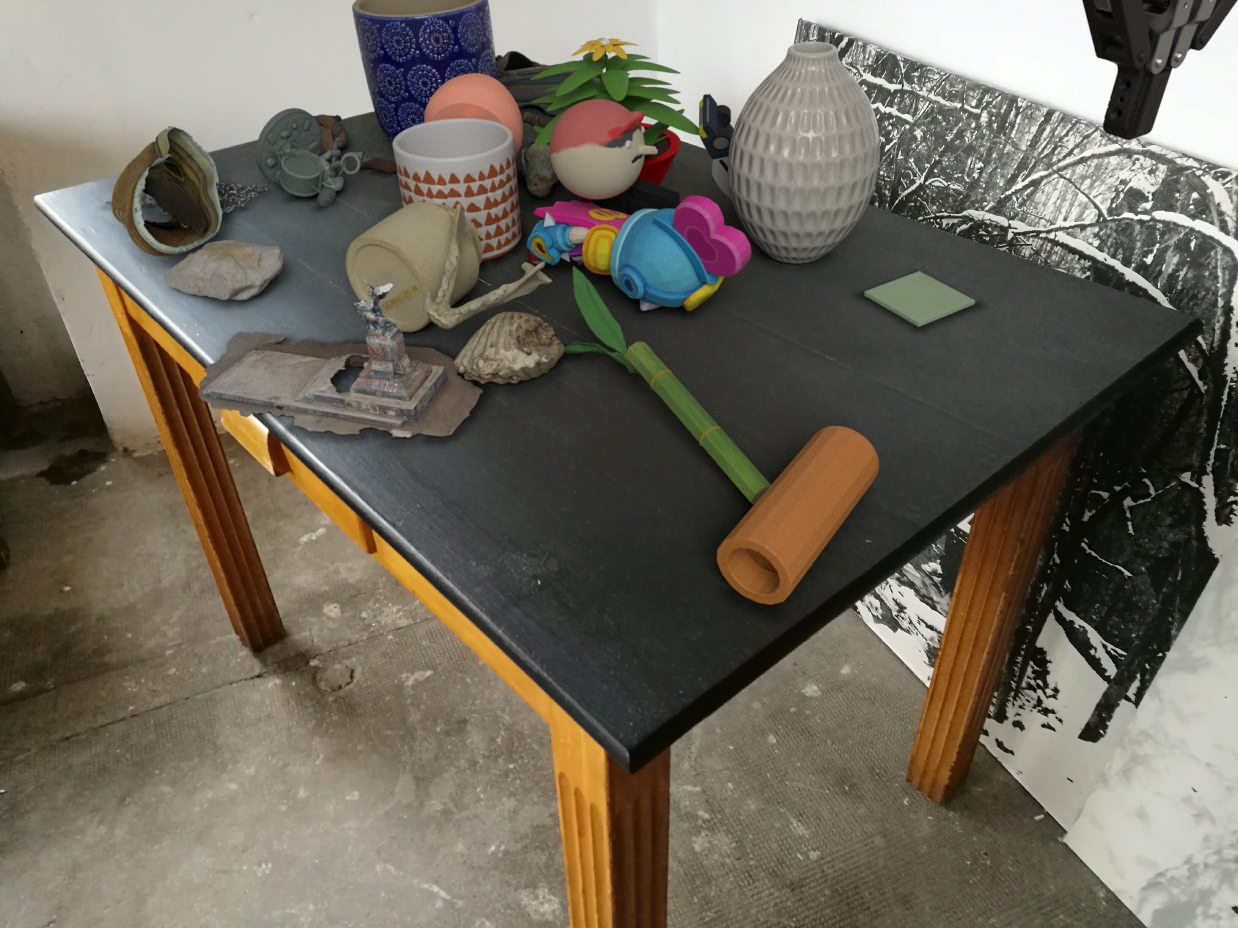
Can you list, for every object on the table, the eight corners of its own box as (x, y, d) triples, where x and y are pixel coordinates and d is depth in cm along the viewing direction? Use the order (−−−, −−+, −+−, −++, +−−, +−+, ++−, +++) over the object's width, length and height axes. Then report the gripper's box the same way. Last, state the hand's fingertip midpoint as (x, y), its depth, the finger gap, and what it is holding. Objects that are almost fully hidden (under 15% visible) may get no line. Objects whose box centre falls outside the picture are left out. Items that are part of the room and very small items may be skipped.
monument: (155, 401, 87) (108, 282, 79) (252, 323, 98) (220, 212, 90) (442, 457, 80) (422, 332, 72) (510, 366, 91) (499, 249, 83)
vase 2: (531, 219, 116) (523, 118, 108) (509, 269, 106) (498, 161, 98) (427, 215, 118) (412, 115, 110) (395, 264, 107) (375, 157, 99)
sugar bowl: (303, 219, 92) (396, 163, 102) (330, 313, 99) (415, 252, 109) (420, 247, 87) (507, 185, 96) (440, 344, 94) (519, 277, 104)
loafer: (481, 83, 160) (473, 26, 154) (626, 105, 148) (623, 45, 142) (443, 102, 153) (433, 44, 147) (591, 127, 141) (587, 65, 135)
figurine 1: (317, 168, 132) (376, 208, 129) (255, 191, 125) (317, 233, 122) (317, 99, 125) (380, 140, 122) (252, 119, 118) (317, 163, 115)
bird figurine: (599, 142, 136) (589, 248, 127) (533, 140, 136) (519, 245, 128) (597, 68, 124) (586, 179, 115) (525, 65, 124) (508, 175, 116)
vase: (827, 212, 114) (848, 19, 99) (892, 269, 101) (927, 59, 87) (705, 232, 110) (709, 37, 96) (757, 294, 98) (770, 81, 84)
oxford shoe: (232, 167, 125) (175, 218, 128) (167, 109, 119) (109, 164, 121) (215, 263, 105) (148, 322, 107) (136, 200, 98) (67, 264, 101)
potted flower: (603, 156, 131) (595, 2, 118) (749, 196, 118) (757, 28, 105) (481, 215, 117) (457, 48, 104) (631, 268, 104) (624, 84, 91)
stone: (232, 254, 111) (165, 296, 106) (214, 214, 108) (144, 255, 102) (309, 278, 105) (243, 324, 99) (293, 235, 101) (223, 281, 96)
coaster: (918, 274, 101) (919, 270, 100) (974, 304, 95) (975, 300, 95) (863, 295, 98) (864, 291, 97) (918, 327, 92) (919, 323, 92)
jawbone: (547, 297, 94) (568, 238, 88) (491, 375, 86) (510, 316, 80) (443, 243, 94) (456, 180, 88) (376, 316, 86) (386, 252, 79)
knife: (503, 213, 119) (524, 194, 122) (502, 205, 118) (523, 186, 121) (345, 177, 130) (367, 161, 133) (342, 170, 129) (365, 153, 132)
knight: (543, 310, 109) (741, 355, 89) (485, 219, 100) (692, 246, 80) (602, 243, 113) (805, 272, 93) (552, 150, 104) (765, 159, 84)
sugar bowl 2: (399, 126, 111) (417, 76, 117) (475, 205, 120) (489, 154, 126) (472, 81, 105) (489, 30, 110) (547, 167, 114) (559, 116, 119)
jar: (831, 412, 71) (735, 523, 61) (893, 457, 70) (804, 577, 60) (799, 455, 75) (705, 565, 66) (857, 499, 74) (769, 617, 65)
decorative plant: (723, 504, 69) (538, 282, 85) (721, 558, 76) (550, 343, 92) (788, 467, 71) (594, 256, 87) (780, 524, 77) (602, 318, 93)
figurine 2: (273, 112, 139) (321, 97, 144) (281, 141, 142) (328, 126, 147) (326, 131, 132) (375, 115, 137) (333, 161, 134) (381, 145, 139)
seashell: (486, 330, 79) (419, 360, 86) (526, 399, 81) (458, 423, 88) (557, 281, 87) (491, 312, 94) (592, 346, 89) (525, 371, 96)
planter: (514, 164, 130) (496, 7, 117) (384, 181, 127) (350, 22, 114) (497, 122, 144) (479, -22, 131) (380, 136, 141) (350, -10, 128)
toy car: (716, 121, 101) (677, 139, 104) (778, 207, 113) (742, 222, 116) (716, 89, 104) (678, 107, 106) (777, 177, 115) (742, 191, 118)
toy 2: (701, 276, 104) (595, 234, 110) (717, 257, 106) (612, 216, 111) (700, 220, 97) (587, 178, 103) (717, 200, 99) (605, 160, 105)
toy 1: (648, 214, 94) (635, 116, 88) (545, 214, 98) (526, 120, 92) (678, 176, 101) (667, 83, 95) (581, 177, 106) (565, 89, 99)
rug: (268, 184, 126) (269, 191, 127) (153, 173, 132) (156, 179, 132) (223, 212, 119) (225, 219, 120) (103, 199, 124) (106, 205, 125)
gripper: (1232, -227, 37) (1106, 181, 48) (1405, -247, 42) (1255, 127, 53) (1077, -229, 42) (995, 140, 54) (1247, -247, 47) (1140, 95, 58)
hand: (1125, 133), depth 53 cm, fingers closed
